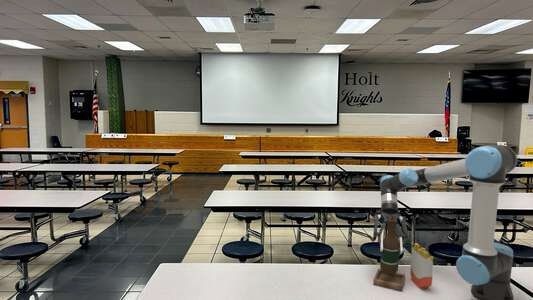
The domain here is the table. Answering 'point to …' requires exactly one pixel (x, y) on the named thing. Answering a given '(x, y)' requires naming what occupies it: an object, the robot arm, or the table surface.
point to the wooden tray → (389, 280)
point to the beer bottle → (390, 249)
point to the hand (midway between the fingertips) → (391, 251)
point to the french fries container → (421, 267)
